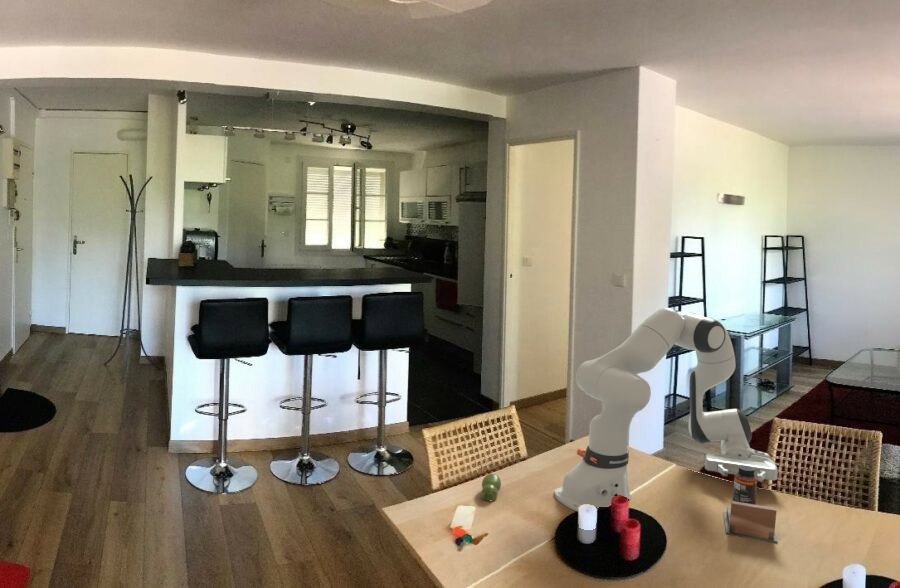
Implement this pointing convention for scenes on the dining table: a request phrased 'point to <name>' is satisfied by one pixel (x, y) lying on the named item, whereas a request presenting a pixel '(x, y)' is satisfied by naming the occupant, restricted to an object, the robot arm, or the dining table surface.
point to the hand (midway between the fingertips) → (742, 476)
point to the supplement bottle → (745, 485)
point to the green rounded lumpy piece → (490, 487)
